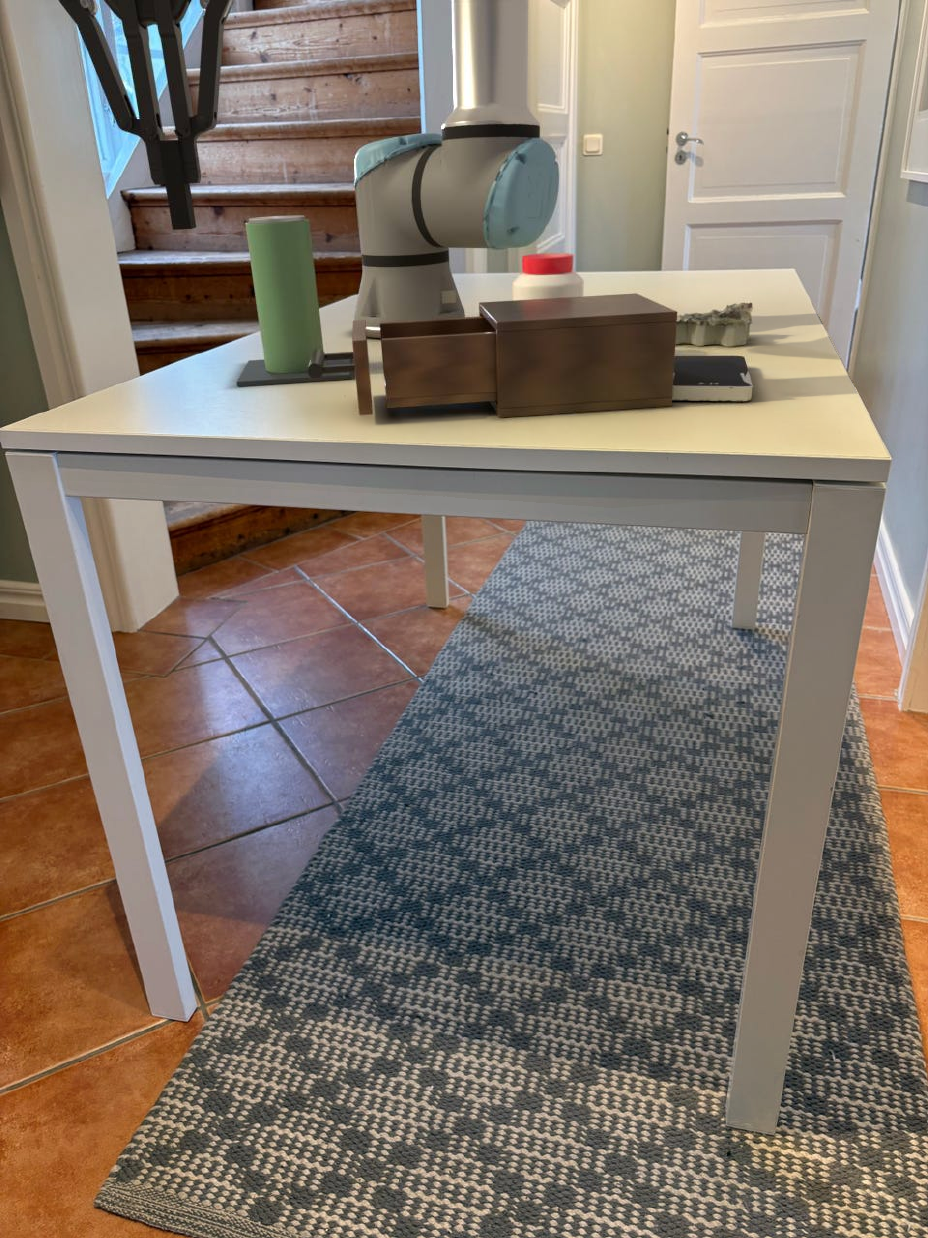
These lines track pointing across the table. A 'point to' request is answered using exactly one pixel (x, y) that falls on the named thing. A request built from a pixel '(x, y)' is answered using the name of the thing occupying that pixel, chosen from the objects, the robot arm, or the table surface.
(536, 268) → the pill bottle
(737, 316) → the egg carton
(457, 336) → the drawer
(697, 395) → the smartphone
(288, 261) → the can
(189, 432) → the table surface
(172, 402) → the table surface
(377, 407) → the table surface
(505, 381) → the cabinet
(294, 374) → the mat
